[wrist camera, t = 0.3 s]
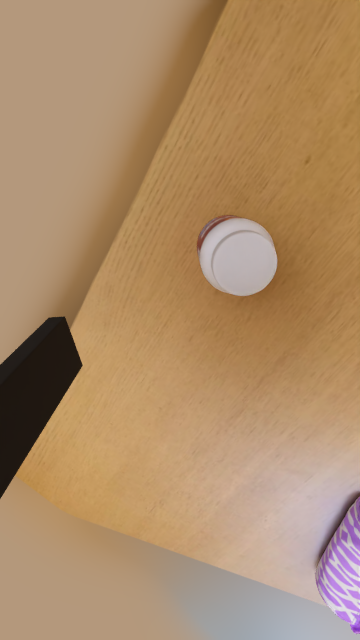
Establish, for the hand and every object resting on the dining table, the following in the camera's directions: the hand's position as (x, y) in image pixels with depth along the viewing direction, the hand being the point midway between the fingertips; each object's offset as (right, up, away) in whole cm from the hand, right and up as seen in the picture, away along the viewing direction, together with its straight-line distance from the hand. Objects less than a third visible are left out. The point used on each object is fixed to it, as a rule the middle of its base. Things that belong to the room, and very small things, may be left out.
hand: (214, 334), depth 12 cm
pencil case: (+28, -36, +37) cm, 59 cm away
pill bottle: (+3, +9, +18) cm, 21 cm away
